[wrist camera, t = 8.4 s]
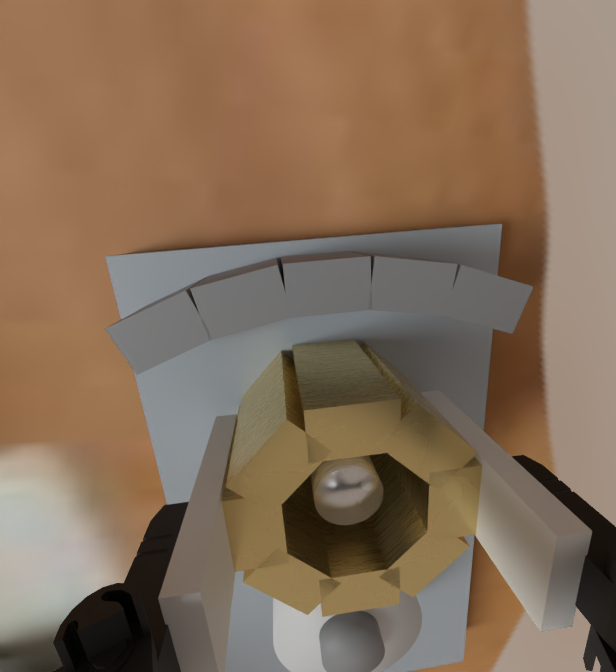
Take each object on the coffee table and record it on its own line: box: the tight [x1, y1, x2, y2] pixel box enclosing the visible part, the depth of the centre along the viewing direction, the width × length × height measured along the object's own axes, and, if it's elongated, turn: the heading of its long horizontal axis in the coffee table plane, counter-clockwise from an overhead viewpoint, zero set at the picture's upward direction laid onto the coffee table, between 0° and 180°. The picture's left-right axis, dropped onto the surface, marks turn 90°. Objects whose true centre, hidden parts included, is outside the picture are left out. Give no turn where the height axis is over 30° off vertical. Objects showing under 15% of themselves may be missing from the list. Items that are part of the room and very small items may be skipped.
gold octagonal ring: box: [222, 339, 482, 617], centre depth 12 cm, size 7×7×5 cm
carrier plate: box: [105, 224, 533, 672], centre depth 14 cm, size 24×14×5 cm, turn 5°
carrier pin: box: [310, 455, 384, 525], centre depth 12 cm, size 2×2×4 cm
